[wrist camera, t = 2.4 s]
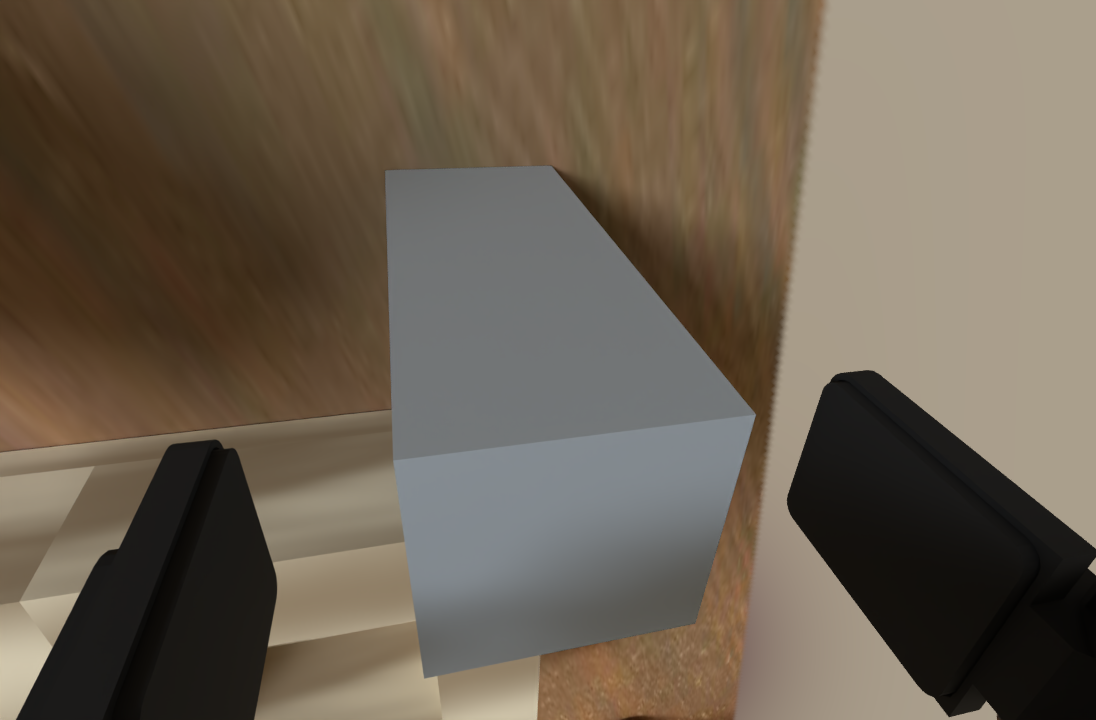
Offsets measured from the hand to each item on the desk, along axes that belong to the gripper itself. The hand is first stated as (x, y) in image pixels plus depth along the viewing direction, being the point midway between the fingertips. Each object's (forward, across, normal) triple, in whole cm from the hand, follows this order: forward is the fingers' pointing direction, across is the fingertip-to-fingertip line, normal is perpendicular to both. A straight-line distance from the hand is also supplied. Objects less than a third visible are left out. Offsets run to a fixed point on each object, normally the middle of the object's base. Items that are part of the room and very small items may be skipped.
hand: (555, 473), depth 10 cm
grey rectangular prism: (+8, 0, -1) cm, 8 cm away
